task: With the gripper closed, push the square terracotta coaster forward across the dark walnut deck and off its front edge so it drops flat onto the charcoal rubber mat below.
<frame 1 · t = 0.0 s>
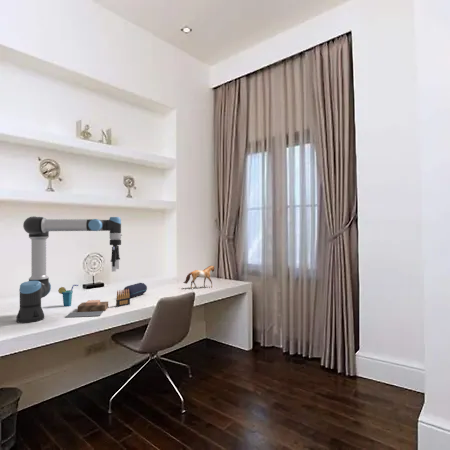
hand: (115, 270, 233), 28 cm above the table, tool pointing down, fingers open, 13 cm apart
coaster: (93, 304, 237), point 4 cm above the table, touching deck
portable speaker: (135, 296, 285), on the table
ammunition clip: (123, 305, 250), on the table
cup: (68, 305, 251), on the table
deck: (93, 309, 238), on the table
horse figurine: (199, 287, 325), on the table
mat: (84, 314, 224), on the table
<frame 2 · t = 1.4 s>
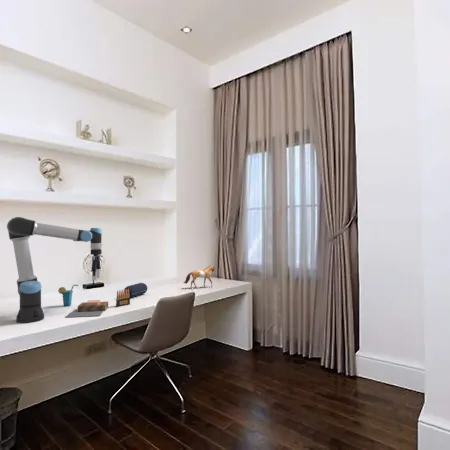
hand: (96, 279, 247), 20 cm above the table, tool pointing down, fingers open, 11 cm apart
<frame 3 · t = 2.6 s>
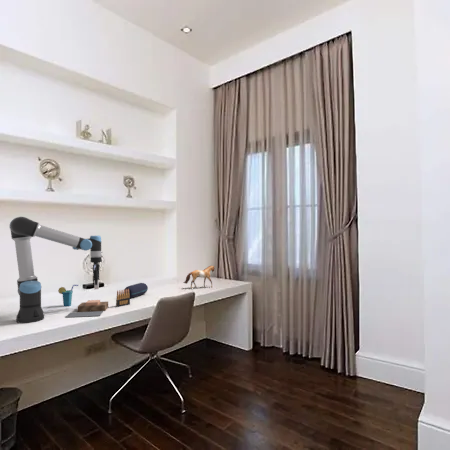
hand: (96, 289, 247), 13 cm above the table, tool pointing down, fingers closed
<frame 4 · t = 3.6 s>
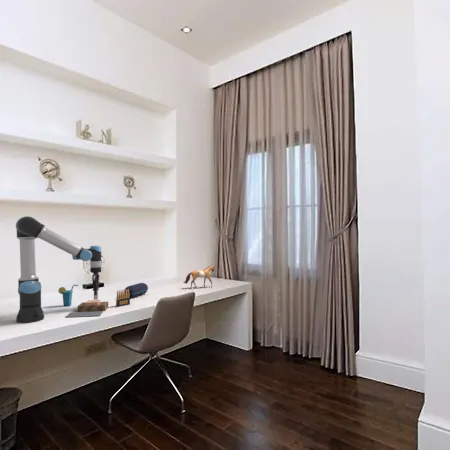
hand: (95, 299, 247), 5 cm above the table, tool pointing down, fingers closed
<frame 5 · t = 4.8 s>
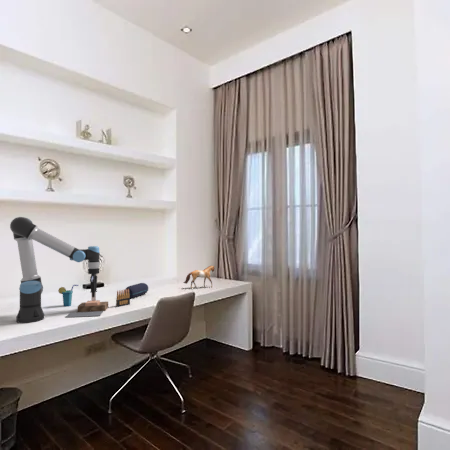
hand: (93, 301, 240), 5 cm above the table, tool pointing down, fingers closed
coaster: (92, 304, 235), point 4 cm above the table
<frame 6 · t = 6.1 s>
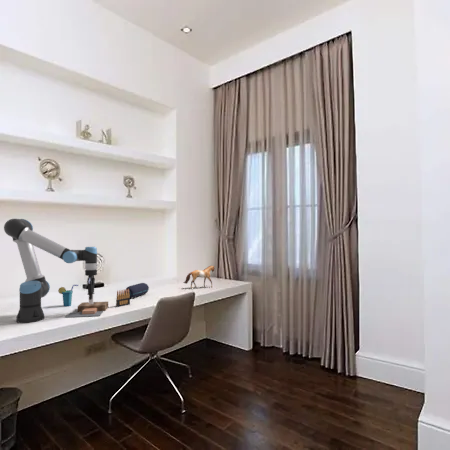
hand: (91, 303, 232), 5 cm above the table, tool pointing down, fingers closed
coaster: (89, 312, 228), on the table, touching mat
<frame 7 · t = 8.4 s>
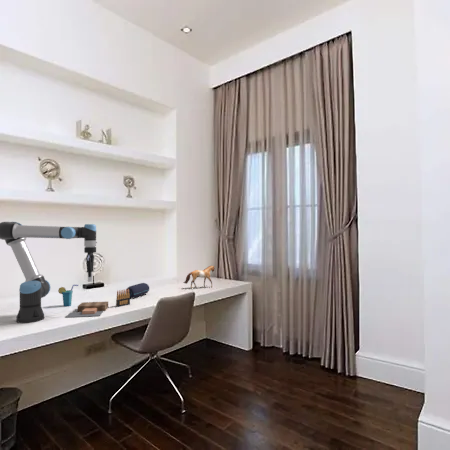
hand: (90, 281, 231), 21 cm above the table, tool pointing down, fingers closed
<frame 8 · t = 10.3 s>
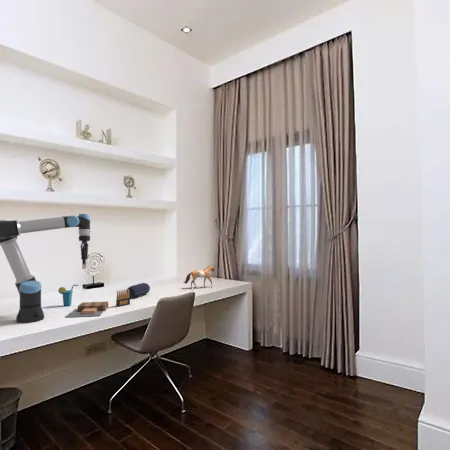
hand: (84, 268, 242), 28 cm above the table, tool pointing down, fingers closed
at the end: coaster on the table; coaster inside the target area on the mat (4.4 cm from its centre), point 0.4 cm above the mat's base; coaster tilted 0° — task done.
